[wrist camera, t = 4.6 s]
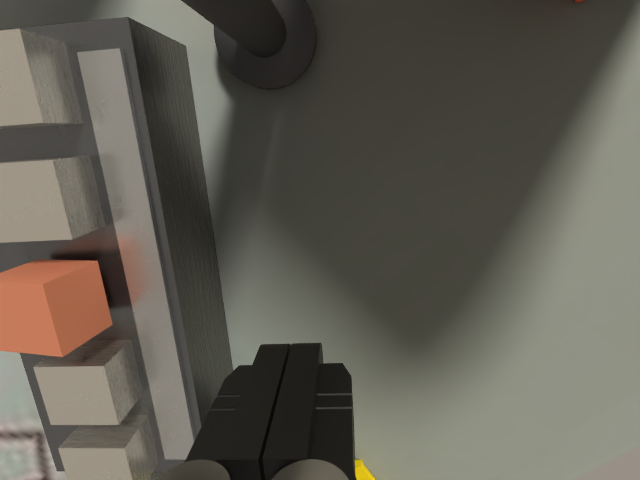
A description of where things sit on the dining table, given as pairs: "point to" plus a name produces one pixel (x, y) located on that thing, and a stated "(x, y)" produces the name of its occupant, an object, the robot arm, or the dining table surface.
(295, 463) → the robot arm
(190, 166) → the breaker strip
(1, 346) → the breaker paddle
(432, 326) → the dining table surface
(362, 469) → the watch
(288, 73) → the stand
